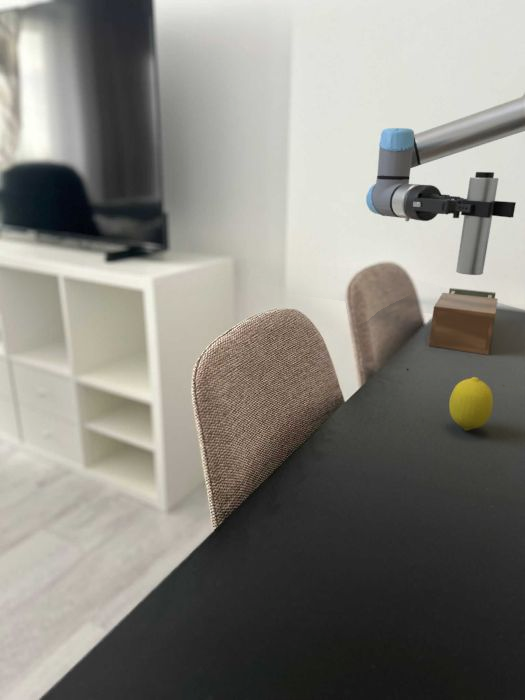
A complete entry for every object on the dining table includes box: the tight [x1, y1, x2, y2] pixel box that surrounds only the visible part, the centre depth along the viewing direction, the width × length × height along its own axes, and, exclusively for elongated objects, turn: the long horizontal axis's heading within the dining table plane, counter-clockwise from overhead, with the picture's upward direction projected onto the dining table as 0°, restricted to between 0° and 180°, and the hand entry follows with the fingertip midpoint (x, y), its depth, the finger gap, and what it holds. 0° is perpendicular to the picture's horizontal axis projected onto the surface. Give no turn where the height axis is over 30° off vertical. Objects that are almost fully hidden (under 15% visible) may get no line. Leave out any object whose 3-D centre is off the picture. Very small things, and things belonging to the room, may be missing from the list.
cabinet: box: [428, 292, 498, 356], centre depth 110 cm, size 15×12×9 cm
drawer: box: [448, 287, 497, 298], centre depth 120 cm, size 15×10×7 cm
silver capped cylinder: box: [455, 171, 499, 276], centre depth 99 cm, size 5×5×19 cm
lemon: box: [448, 376, 494, 432], centre depth 71 cm, size 6×6×8 cm
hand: (501, 210), depth 94 cm, fingers closed on silver capped cylinder, 5 cm apart
